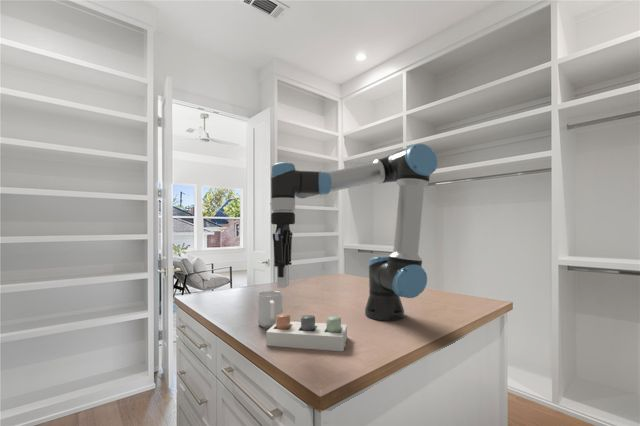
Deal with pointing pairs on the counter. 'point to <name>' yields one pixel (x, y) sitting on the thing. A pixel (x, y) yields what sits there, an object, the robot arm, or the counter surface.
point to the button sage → (333, 324)
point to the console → (307, 337)
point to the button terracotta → (283, 321)
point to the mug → (269, 307)
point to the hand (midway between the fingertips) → (283, 286)
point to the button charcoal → (308, 323)
